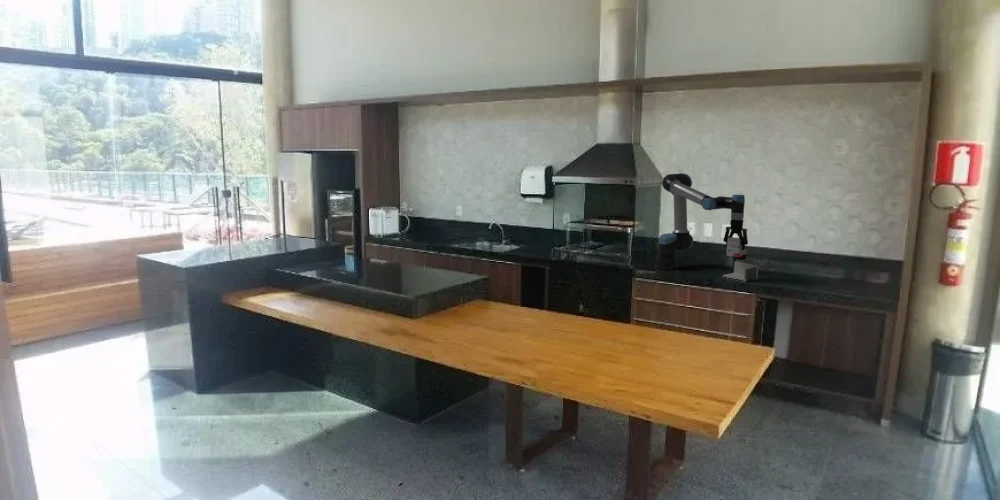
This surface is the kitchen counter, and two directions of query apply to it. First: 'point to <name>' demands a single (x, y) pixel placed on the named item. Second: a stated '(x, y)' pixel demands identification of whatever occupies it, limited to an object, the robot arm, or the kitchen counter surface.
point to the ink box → (733, 247)
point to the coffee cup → (740, 258)
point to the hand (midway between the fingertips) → (734, 253)
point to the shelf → (744, 271)
